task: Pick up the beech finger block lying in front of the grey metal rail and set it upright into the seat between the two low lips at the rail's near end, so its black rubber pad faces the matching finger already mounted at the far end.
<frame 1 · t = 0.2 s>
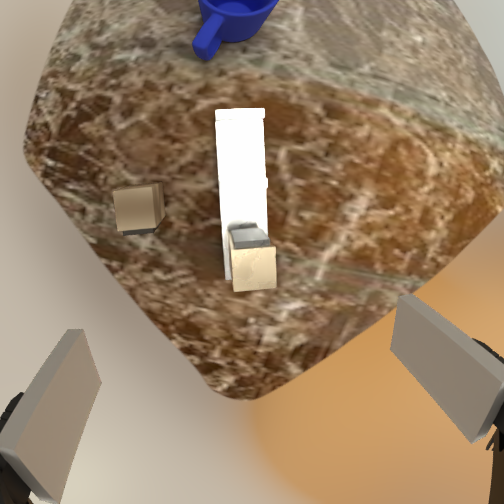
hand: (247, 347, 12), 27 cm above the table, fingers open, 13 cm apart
mug: (224, 33, 31), on the table
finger: (147, 200, 36), on the table
rail: (240, 194, 37), on the table
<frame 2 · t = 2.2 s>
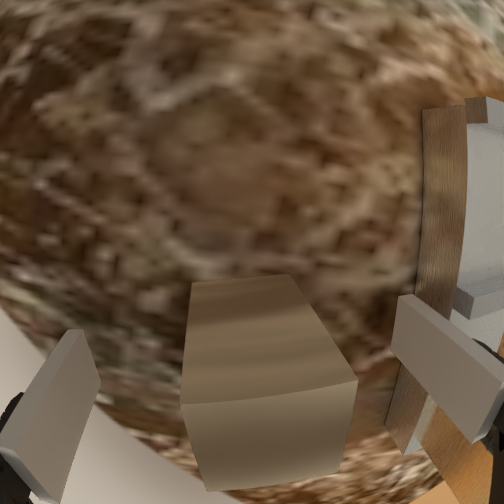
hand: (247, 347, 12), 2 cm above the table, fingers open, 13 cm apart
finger: (244, 320, 14), on the table
rail: (448, 293, 15), on the table
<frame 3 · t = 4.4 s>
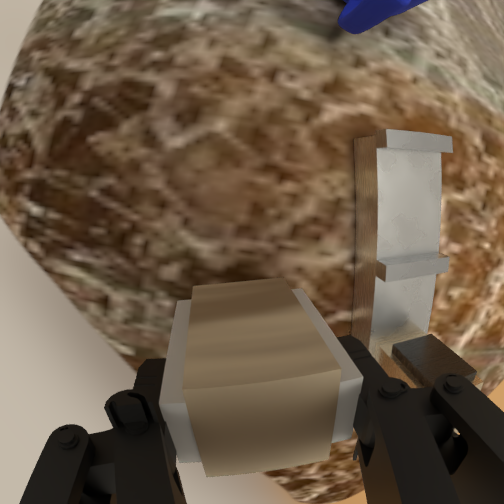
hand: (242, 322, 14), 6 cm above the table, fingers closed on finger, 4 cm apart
mug: (353, 0, 16), on the table
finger: (241, 321, 15), point 6 cm above the table, touching gripper
rail: (385, 271, 22), on the table
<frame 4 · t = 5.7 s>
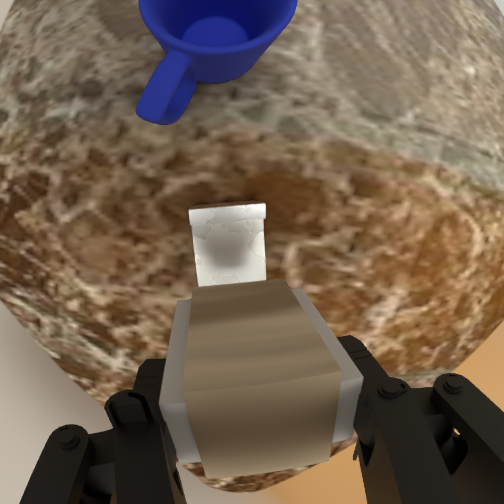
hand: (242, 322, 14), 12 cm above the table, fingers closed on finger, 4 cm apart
mug: (203, 68, 22), on the table
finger: (242, 323, 15), point 12 cm above the table, touching gripper
rail: (233, 310, 27), on the table
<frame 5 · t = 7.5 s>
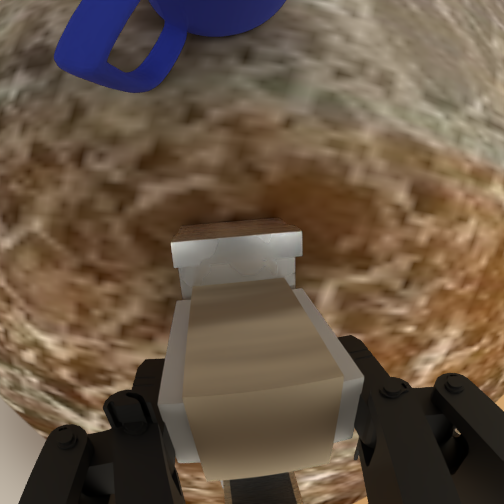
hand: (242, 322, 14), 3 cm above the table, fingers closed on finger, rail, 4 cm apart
mug: (199, 18, 13), on the table
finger: (242, 322, 14), point 3 cm above the table, touching gripper, rail
rail: (242, 371, 19), on the table
when the fingers open (3 cm above the table, at t = 8.8 s): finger stays where it is, resting on rail.
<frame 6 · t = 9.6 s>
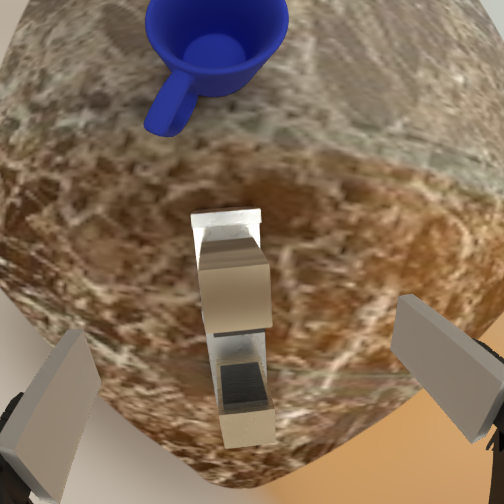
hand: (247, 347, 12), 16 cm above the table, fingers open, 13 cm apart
mug: (203, 82, 24), on the table
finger: (229, 264, 25), point 3 cm above the table, touching rail
rail: (232, 308, 29), on the table
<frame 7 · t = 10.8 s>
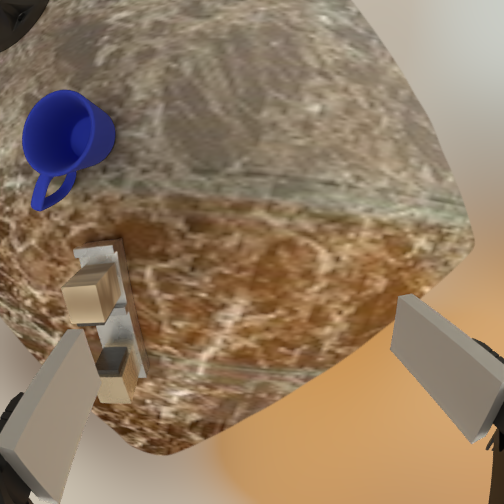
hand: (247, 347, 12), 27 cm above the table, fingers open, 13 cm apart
mug: (86, 152, 33), on the table
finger: (102, 280, 35), point 3 cm above the table, touching rail
rail: (117, 308, 39), on the table
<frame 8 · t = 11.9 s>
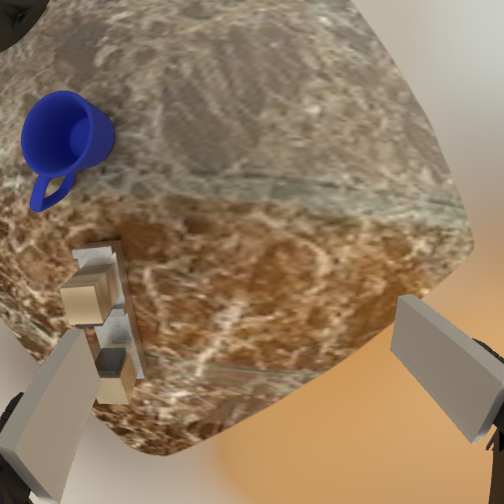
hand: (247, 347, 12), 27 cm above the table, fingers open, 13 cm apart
mug: (85, 153, 33), on the table
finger: (101, 280, 35), point 3 cm above the table, touching rail
rail: (116, 309, 39), on the table
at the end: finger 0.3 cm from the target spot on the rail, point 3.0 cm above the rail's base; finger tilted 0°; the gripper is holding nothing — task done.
